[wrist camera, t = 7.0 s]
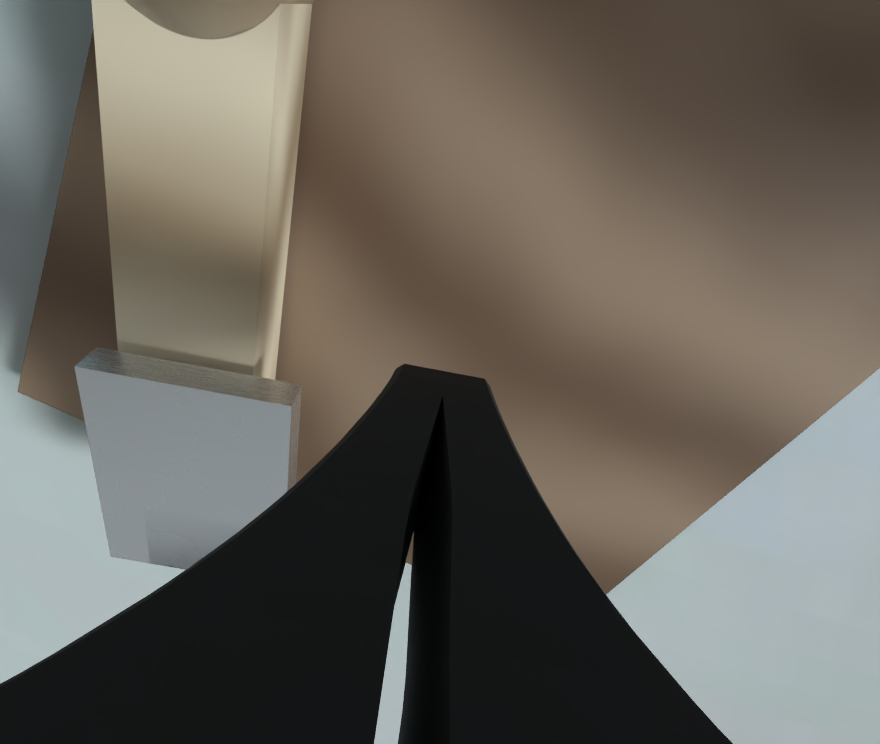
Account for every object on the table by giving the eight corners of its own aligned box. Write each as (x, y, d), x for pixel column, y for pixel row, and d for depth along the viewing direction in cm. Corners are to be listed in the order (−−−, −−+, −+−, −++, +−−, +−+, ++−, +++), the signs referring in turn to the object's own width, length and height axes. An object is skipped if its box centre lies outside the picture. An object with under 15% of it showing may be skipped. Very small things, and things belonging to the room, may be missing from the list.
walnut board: (262, -588, 8) (236, -656, 7) (1097, 140, 12) (1142, 150, 12) (39, 373, 18) (17, 391, 17) (559, 606, 22) (561, 630, 21)
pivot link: (132, -252, 9) (11, -339, 7) (352, -187, 10) (308, -248, 7) (155, 387, 16) (98, 453, 14) (284, 416, 16) (250, 486, 14)
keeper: (157, 293, 15) (74, 366, 12) (330, 326, 15) (291, 406, 12) (173, 464, 18) (110, 556, 15) (316, 490, 18) (282, 585, 15)
